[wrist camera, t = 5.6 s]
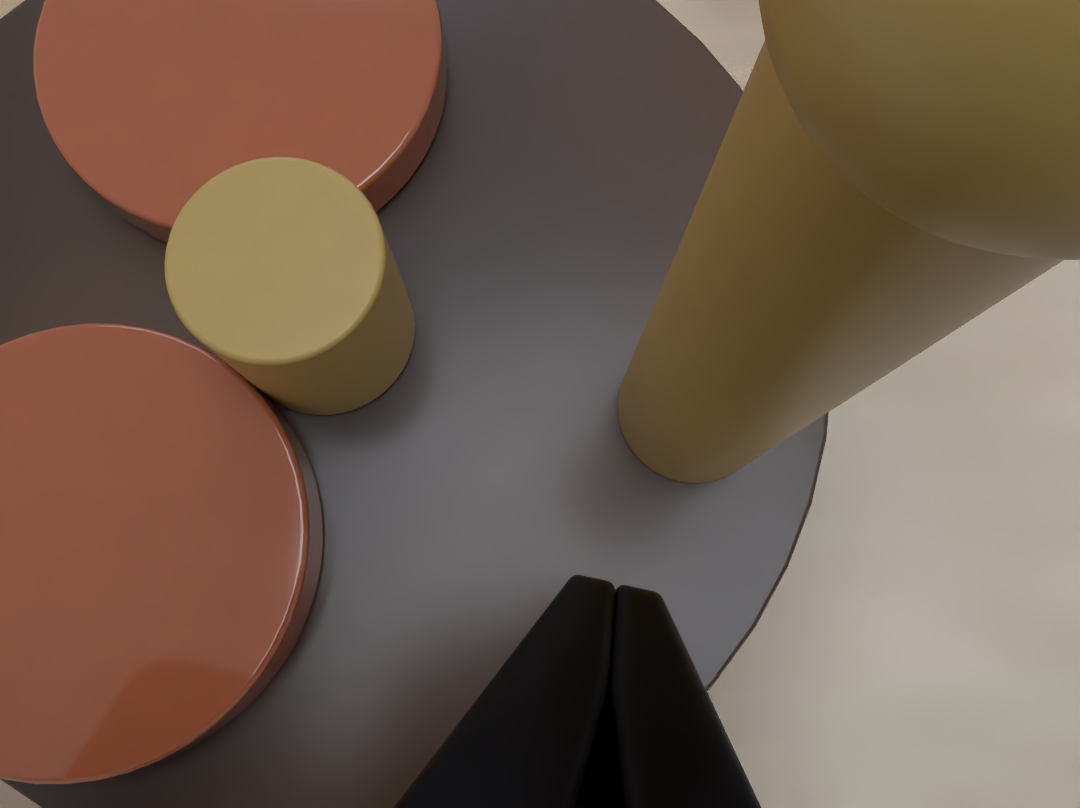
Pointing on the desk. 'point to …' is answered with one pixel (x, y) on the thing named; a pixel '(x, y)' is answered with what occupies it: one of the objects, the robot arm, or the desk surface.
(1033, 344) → the desk surface
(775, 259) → the peg and disc stand
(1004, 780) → the desk surface
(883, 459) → the desk surface
